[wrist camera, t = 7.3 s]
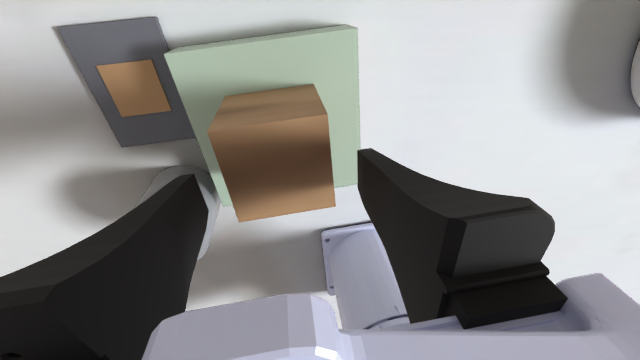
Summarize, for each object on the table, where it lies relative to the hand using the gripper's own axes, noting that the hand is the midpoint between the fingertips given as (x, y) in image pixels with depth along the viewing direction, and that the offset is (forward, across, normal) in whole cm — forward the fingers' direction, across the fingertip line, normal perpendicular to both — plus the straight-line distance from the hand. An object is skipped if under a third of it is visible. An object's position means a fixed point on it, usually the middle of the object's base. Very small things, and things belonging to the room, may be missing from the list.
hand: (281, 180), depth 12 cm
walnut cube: (+6, 0, 0) cm, 6 cm away
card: (+8, +8, -3) cm, 12 cm away
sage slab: (+9, 0, 0) cm, 9 cm away
